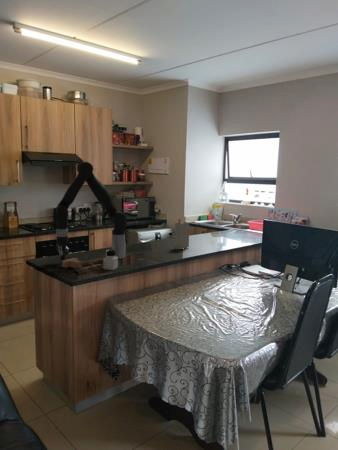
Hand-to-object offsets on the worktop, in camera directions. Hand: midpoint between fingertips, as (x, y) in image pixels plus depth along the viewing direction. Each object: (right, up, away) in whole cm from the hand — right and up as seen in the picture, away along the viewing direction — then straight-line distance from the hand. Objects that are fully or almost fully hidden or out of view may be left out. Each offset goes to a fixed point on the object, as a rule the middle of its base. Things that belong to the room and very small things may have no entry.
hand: (62, 260), depth 237 cm
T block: (+9, -3, -6) cm, 12 cm away
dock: (+20, -5, -15) cm, 25 cm away
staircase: (+81, +4, +56) cm, 99 cm away
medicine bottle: (+33, -4, -8) cm, 35 cm away
